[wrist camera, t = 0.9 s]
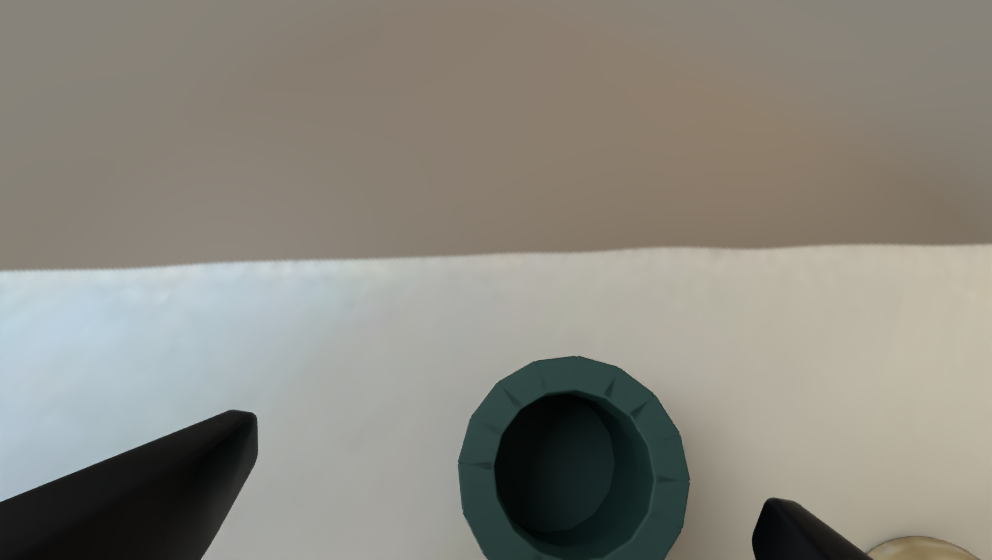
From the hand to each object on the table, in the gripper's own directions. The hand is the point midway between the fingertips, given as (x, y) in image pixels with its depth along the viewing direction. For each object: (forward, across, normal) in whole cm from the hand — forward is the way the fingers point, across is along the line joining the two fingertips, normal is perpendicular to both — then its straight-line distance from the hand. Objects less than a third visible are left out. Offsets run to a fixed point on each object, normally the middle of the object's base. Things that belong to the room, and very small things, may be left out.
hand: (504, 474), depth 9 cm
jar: (+12, -2, +9) cm, 15 cm away
